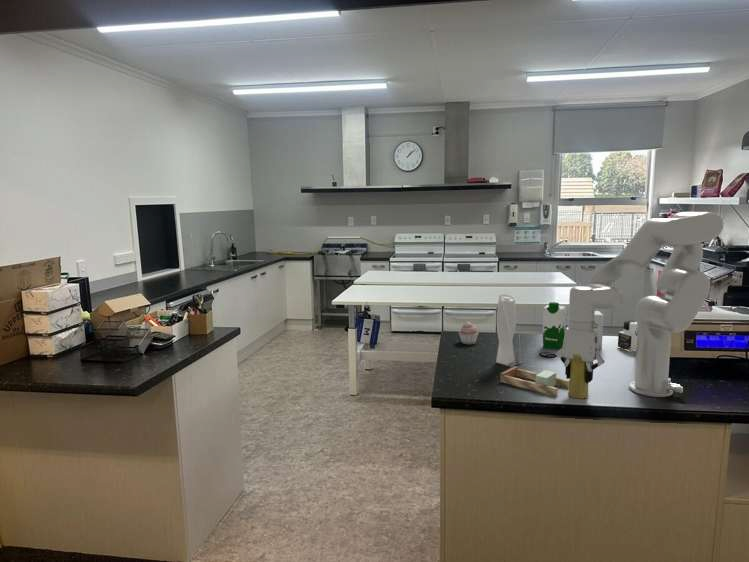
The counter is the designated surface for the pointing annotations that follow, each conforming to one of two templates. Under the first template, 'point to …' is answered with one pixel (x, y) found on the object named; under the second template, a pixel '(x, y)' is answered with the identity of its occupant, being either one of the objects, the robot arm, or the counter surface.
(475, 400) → the counter surface
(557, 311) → the milk carton
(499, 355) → the skyscraper
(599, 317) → the supplement box
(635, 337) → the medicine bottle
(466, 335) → the cupcake
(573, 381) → the vase
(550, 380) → the block
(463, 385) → the counter surface
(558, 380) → the track
